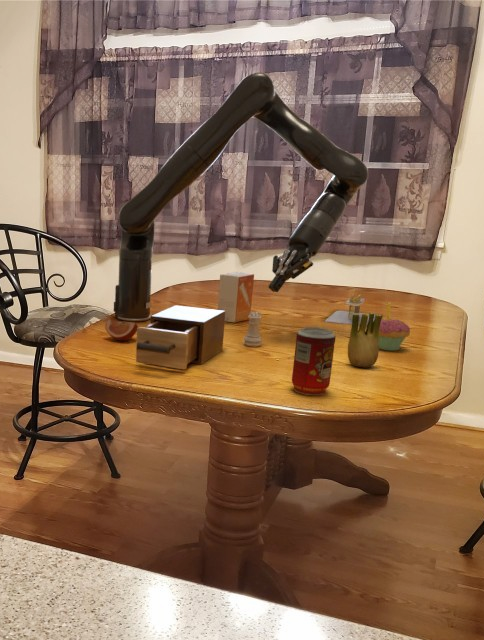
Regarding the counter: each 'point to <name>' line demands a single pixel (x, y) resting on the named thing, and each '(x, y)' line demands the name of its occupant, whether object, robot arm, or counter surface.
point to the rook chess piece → (253, 331)
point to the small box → (235, 295)
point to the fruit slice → (121, 329)
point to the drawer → (168, 344)
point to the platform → (347, 316)
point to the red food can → (313, 360)
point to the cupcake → (392, 332)
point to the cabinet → (209, 327)
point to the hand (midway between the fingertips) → (272, 289)
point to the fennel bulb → (364, 340)
